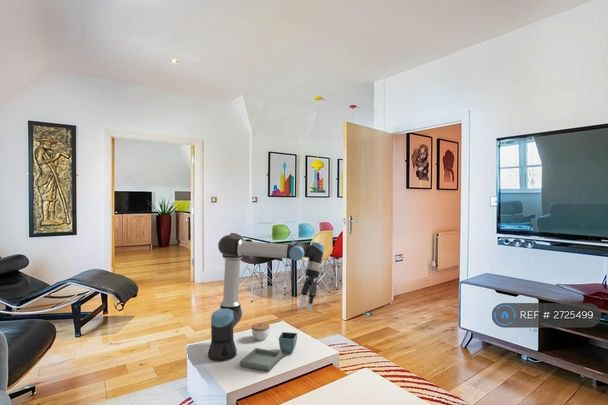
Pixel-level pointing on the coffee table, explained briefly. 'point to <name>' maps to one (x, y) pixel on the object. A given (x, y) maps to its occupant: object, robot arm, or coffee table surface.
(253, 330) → the lidded jar
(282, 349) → the flower pot
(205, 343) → the coffee table surface
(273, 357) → the tray
